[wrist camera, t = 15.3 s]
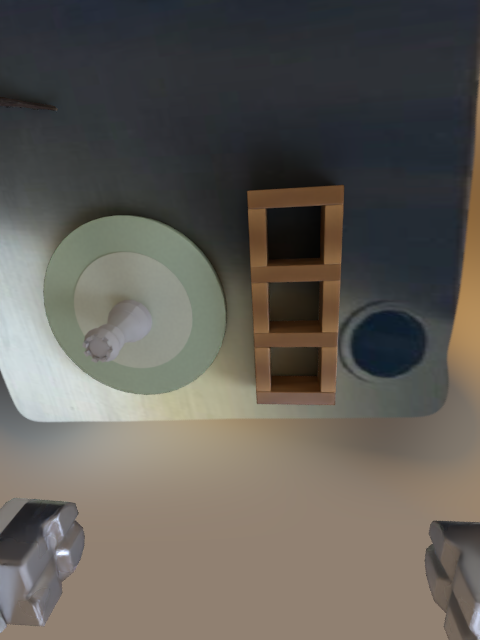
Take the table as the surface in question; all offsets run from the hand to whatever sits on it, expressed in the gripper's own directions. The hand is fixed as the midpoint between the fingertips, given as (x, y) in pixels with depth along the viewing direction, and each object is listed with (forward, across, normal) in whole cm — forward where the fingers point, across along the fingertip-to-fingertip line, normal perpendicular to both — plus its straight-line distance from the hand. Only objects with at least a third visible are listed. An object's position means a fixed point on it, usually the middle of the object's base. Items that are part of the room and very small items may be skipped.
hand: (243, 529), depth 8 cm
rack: (+29, -2, +3) cm, 29 cm away
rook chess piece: (+28, +15, +4) cm, 32 cm away
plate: (+29, +15, +4) cm, 33 cm away
